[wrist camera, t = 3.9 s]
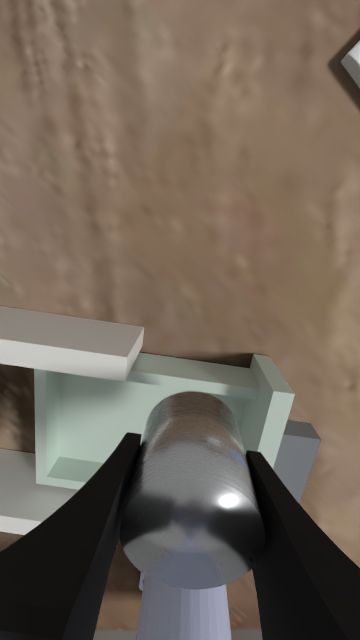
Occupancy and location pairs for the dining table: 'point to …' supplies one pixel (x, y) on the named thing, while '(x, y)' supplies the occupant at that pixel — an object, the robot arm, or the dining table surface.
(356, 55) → the external hard drive
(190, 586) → the brushed steel cylinder
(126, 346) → the white drawer housing
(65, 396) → the tray
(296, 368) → the dining table surface
